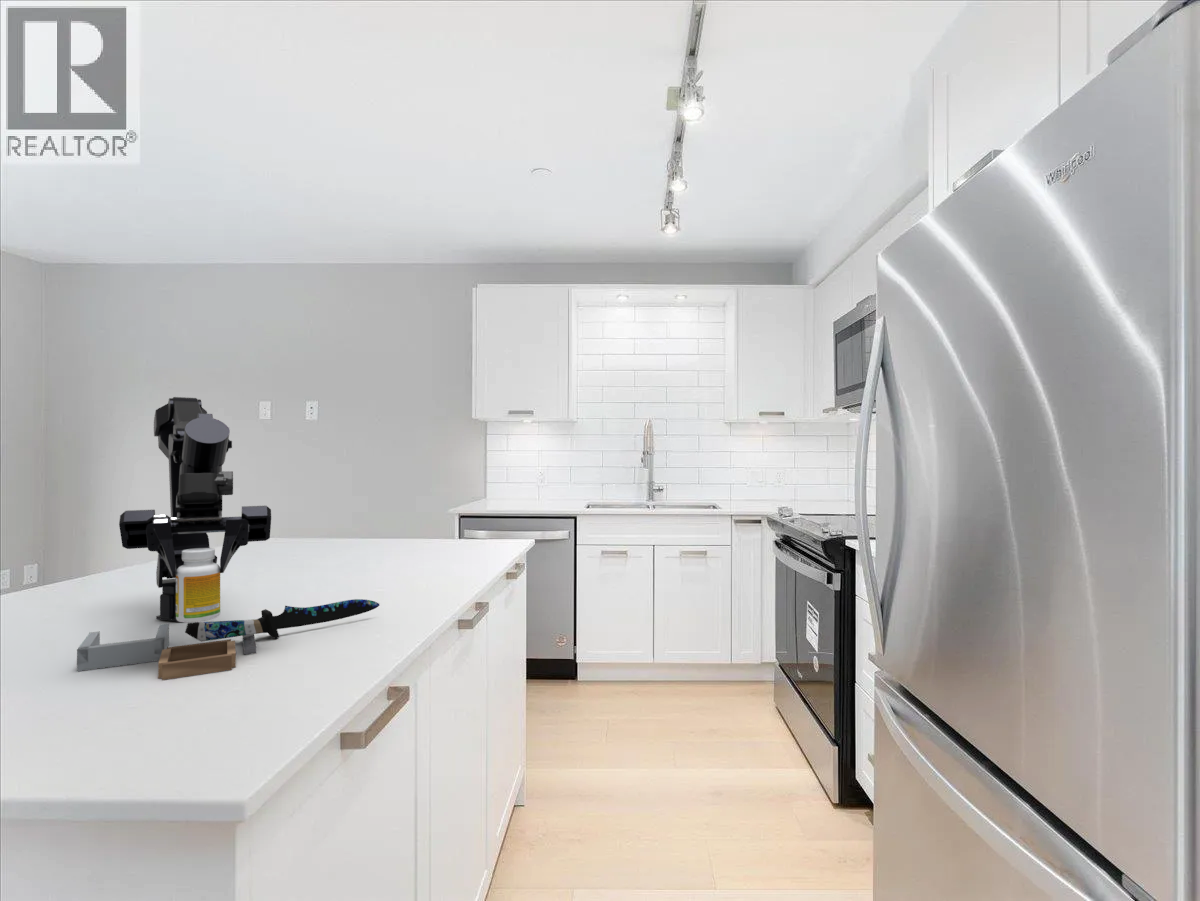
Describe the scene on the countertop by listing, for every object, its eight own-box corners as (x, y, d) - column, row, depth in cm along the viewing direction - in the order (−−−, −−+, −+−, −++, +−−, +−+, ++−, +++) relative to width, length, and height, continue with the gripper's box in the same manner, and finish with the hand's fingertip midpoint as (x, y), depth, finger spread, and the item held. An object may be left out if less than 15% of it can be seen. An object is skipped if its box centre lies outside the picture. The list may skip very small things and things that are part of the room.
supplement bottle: (229, 615, 94) (229, 547, 94) (195, 624, 89) (195, 553, 89) (201, 611, 95) (201, 545, 95) (166, 621, 90) (166, 551, 90)
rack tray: (89, 652, 98) (89, 632, 98) (169, 642, 103) (169, 623, 103) (76, 671, 89) (76, 649, 89) (164, 659, 94) (164, 639, 94)
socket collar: (163, 661, 93) (163, 647, 93) (234, 652, 98) (234, 638, 98) (157, 680, 86) (157, 665, 86) (235, 669, 90) (235, 654, 90)
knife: (186, 653, 97) (187, 623, 97) (182, 648, 99) (183, 619, 99) (385, 622, 117) (385, 597, 117) (378, 618, 119) (378, 594, 119)
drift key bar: (242, 641, 104) (242, 635, 104) (253, 639, 104) (253, 633, 104) (243, 654, 97) (244, 647, 97) (256, 653, 98) (256, 646, 98)
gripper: (121, 453, 91) (109, 542, 81) (270, 453, 100) (275, 533, 91) (128, 505, 98) (117, 592, 88) (267, 500, 107) (271, 579, 97)
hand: (198, 573), depth 91 cm, fingers closed on supplement bottle, 5 cm apart
